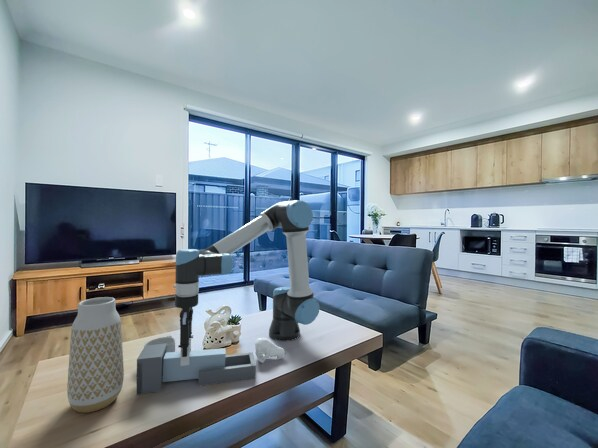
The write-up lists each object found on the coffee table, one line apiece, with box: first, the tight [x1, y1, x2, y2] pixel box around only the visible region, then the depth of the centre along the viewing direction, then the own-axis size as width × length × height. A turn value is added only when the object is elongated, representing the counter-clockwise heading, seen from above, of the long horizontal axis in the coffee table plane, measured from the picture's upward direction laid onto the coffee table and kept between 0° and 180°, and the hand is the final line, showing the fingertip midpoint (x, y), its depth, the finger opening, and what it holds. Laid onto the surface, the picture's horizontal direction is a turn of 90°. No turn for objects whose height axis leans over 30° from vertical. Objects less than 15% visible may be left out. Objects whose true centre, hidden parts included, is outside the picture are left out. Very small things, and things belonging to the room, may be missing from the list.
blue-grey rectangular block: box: [162, 347, 227, 383], centre depth 97 cm, size 20×4×8 cm, turn 105°
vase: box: [66, 296, 125, 414], centre depth 83 cm, size 14×14×31 cm
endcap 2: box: [198, 351, 257, 387], centre depth 100 cm, size 19×10×4 cm, turn 106°
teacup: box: [143, 334, 176, 352], centre depth 109 cm, size 14×11×8 cm
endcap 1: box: [136, 343, 167, 395], centre depth 93 cm, size 7×10×11 cm
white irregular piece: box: [254, 337, 285, 364], centre depth 111 cm, size 6×8×12 cm
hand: (185, 361), depth 96 cm, fingers closed on blue-grey rectangular block, 4 cm apart
